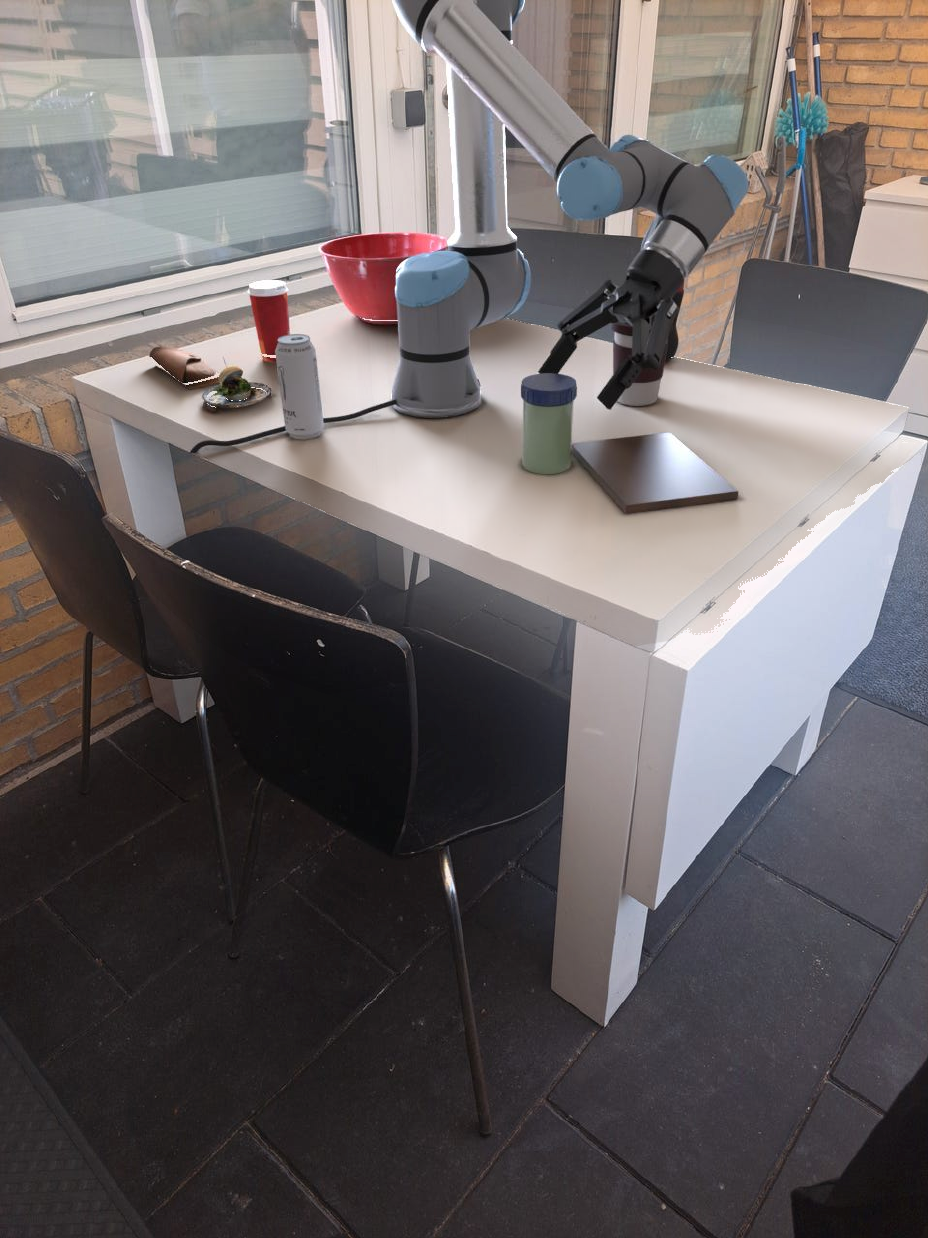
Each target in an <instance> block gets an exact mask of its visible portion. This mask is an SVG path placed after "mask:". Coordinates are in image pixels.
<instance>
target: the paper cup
mask: <svg viewBox="0 0 928 1238" xmlns="http://www.w3.org/2000/svg"><path fill="white" fill-rule="evenodd" d="M288 292H289V288H288V287H287V284H286V282H285V281H282V280H276V279H268V280H267V279H266V280H259V281H254V282H252V283H250V284H249V286H248V290H247V292H246V293H247V295H249V300H250V304H251V309H252V315H253V321H254V326H255V330H256V335H257V339H258V345H259V349H260V354H261V353H262V354H267V355H276V354H275V350H276V348H277V345H278V338H280V337H282V336H285V335H291V331H290V329H291V328H290V314H289V302H288V301H289V299H288ZM262 354H261V358H262V360H263V361H264V362H266V363H277V362H276V358H270V357H264V356H262Z"/></svg>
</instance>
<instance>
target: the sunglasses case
mask: <svg viewBox="0 0 928 1238" xmlns="http://www.w3.org/2000/svg"><path fill="white" fill-rule="evenodd" d="M149 357H152V358H153V359H154V360H155V361H156V362H157V363H158V364H159V365H161V366H162V367H163V368H164V369H165V370H166V371H168V372H169V373H170V374H171V375H172V376H174V377H175V378H176V379H177V380H179V381H180V382H182V383H188V382H194V381H198V380H201V379H205V378H208V377H211V376H214V375H215V374H216V371H217V370H216V369H215V368H213V367H212V365H211V366H210V365H209V364H208V363H207V362H205V361H203V360H202V357H200V356H198V355H196V354H194V353H191V352H187V351H184V350H182V349H178V348H175V347H170V346H155V347H153V348H152V349H151V351H150V352H149V356H148V358H149ZM215 370H216V371H215ZM171 375H170V376H171ZM172 376H171V377H172ZM175 378H174V379H175ZM176 379H175V380H176ZM177 380H176V381H177ZM180 382H179V383H180ZM218 384H220V383H219V377H217V378H214V379H210V380H206V381H202V382H198V383H193V384H189V385H186V386H185V387H186V388H187V389H189V390H195V389H202V388H206V387H210V386H211V387H212V386H214V385H218Z"/></svg>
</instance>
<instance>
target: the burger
mask: <svg viewBox="0 0 928 1238" xmlns="http://www.w3.org/2000/svg"><path fill="white" fill-rule="evenodd" d="M222 358H223V361H224V364H225V367H224V368H223V369H222V370H221V372H219V373H220V375H219V383H218V384H217V385H215V386H211V387H210V388H207V390H204V391H203V393H202V394H201V399H202V400H203V401H202V407H203V408H204V409H205V410H207V411H210V412H212V413H216V412H217V408H218V407H220V406H223V407H222V408H233V409H235V408H244V407H246V406H251V405H254V404H257V403H258V404H259V403H260V402H261V401H263V400H265V399H266V397H272V394H273V389H272V387H270V386H268V385H267V384H265V383H260V382H255V381H253V382H252V381H250V382H249V381H248V380H247V379H246V378H243V377H242V376H243V374H244V370H242V368H241V367H239V366H235V365H230V366H229V365H228V366H227V363H226V360H225V358H224V356H222ZM251 387H255V388H251ZM256 388H262V389H263V390H265V391H266V392H267V394H266V392H265V391H263V390H261V389H256ZM212 391H217V393H215V394H213V395H212V396H211V397H209V401H207V400H206V398H207V395H208V394H209V393H210V392H212ZM226 398H227V399H228V400H227V399H226ZM246 398H247V399H246ZM244 399H245V400H244ZM231 400H233V401H231ZM239 400H241V401H239ZM258 401H259V402H258ZM207 403H208V404H209V405H208V404H207ZM210 405H211V406H215V407H217V408H215V407H211V406H210ZM237 406H238V407H237Z"/></svg>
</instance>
